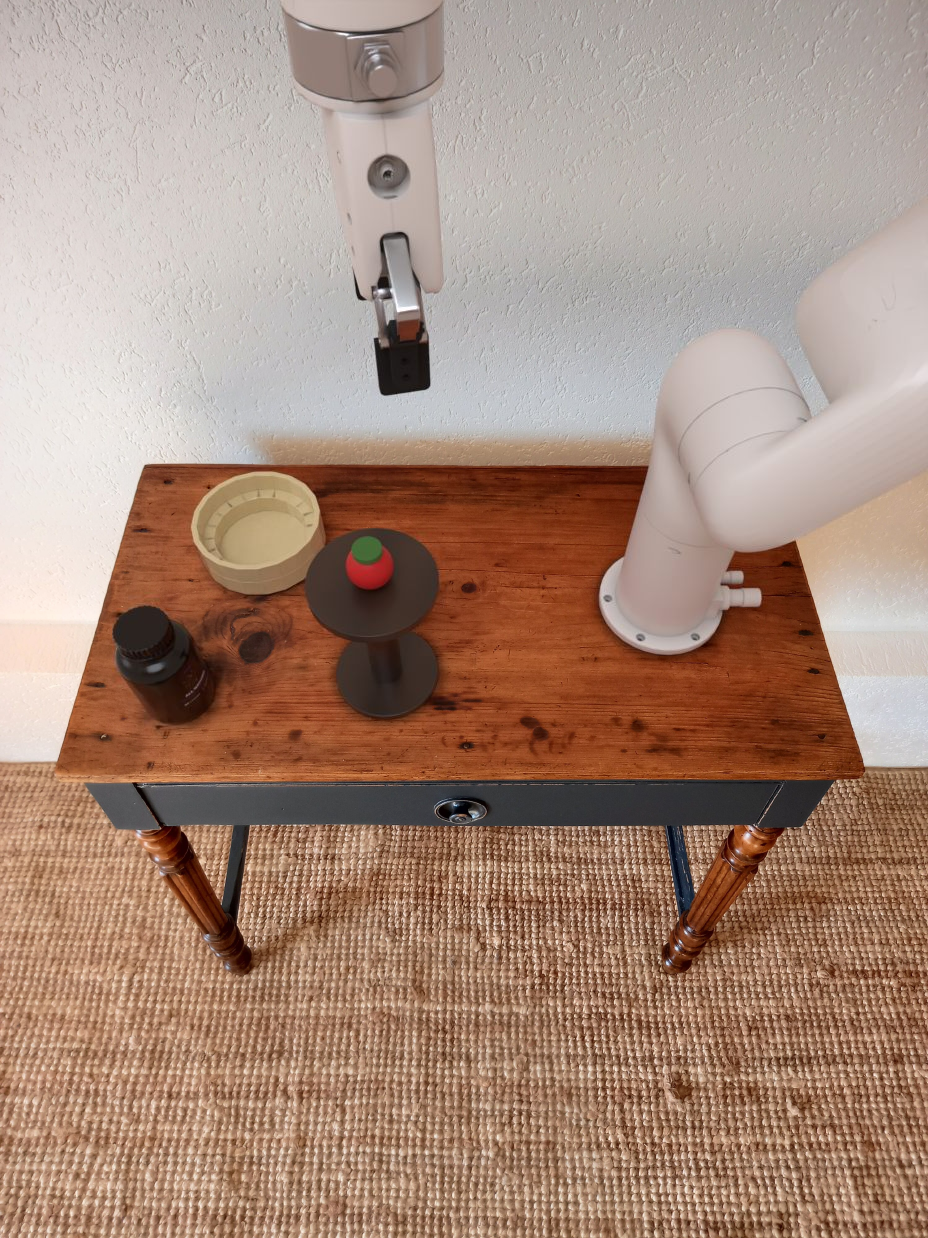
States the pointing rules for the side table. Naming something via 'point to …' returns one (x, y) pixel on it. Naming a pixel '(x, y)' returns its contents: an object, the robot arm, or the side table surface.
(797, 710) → the side table surface
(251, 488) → the bowl
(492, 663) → the side table surface
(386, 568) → the tomato
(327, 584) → the cake stand
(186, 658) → the supplement bottle
